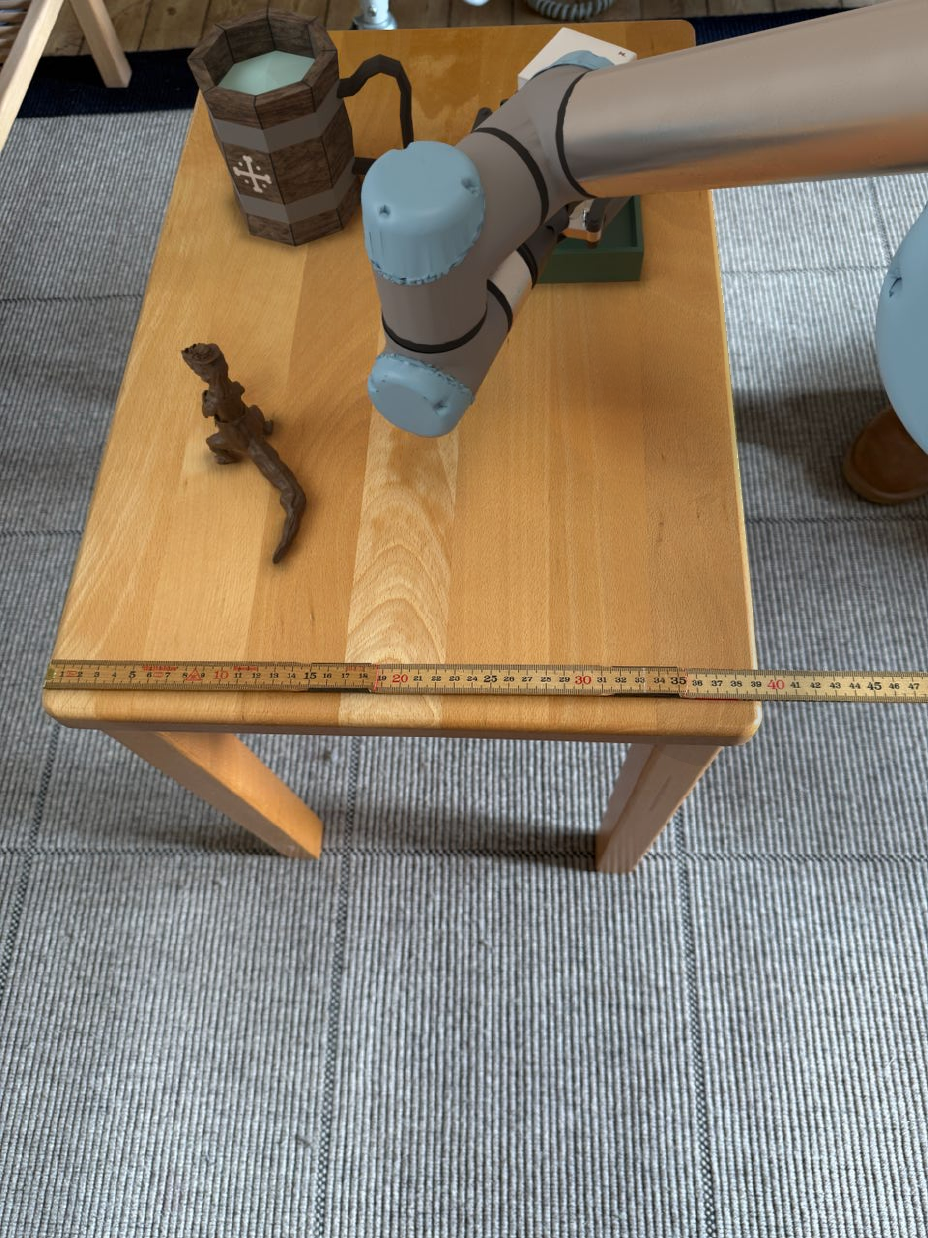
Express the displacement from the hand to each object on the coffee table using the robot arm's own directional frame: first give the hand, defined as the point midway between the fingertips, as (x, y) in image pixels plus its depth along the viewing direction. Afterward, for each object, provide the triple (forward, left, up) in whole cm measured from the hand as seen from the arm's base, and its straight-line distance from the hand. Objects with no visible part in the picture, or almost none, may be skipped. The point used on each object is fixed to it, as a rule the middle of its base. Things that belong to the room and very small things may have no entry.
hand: (594, 86), depth 78 cm
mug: (+25, +9, -12) cm, 29 cm away
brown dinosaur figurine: (+14, +43, -12) cm, 47 cm away
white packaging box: (0, +5, -8) cm, 9 cm away
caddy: (0, +5, -12) cm, 13 cm away
